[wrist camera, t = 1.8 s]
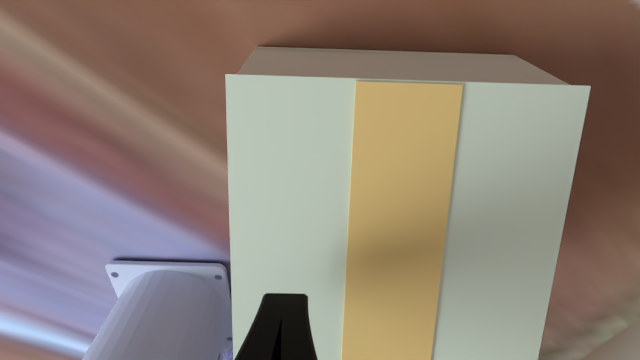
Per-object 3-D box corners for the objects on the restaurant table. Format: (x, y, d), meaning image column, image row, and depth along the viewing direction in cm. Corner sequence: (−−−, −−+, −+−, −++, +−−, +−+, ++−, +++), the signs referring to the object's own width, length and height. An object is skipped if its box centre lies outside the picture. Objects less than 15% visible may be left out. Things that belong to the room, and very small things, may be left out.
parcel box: (453, 246, 23) (478, 304, 19) (269, 241, 23) (258, 298, 19) (514, 54, 16) (571, 85, 13) (256, 46, 16) (235, 74, 13)
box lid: (523, 381, 15) (532, 394, 15) (237, 374, 15) (233, 387, 15) (578, 86, 13) (593, 85, 12) (229, 75, 12) (224, 73, 12)
